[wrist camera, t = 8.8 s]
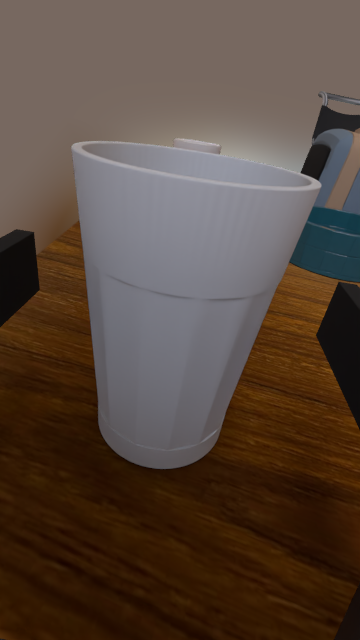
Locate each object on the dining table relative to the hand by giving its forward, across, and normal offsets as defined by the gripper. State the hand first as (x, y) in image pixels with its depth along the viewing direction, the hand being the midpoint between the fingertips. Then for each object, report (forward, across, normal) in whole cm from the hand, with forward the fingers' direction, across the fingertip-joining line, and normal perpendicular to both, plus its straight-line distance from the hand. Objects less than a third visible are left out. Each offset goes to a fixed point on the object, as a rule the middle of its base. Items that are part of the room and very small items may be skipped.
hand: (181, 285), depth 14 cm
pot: (+30, +18, -7) cm, 36 cm away
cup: (-1, 0, -7) cm, 7 cm away
